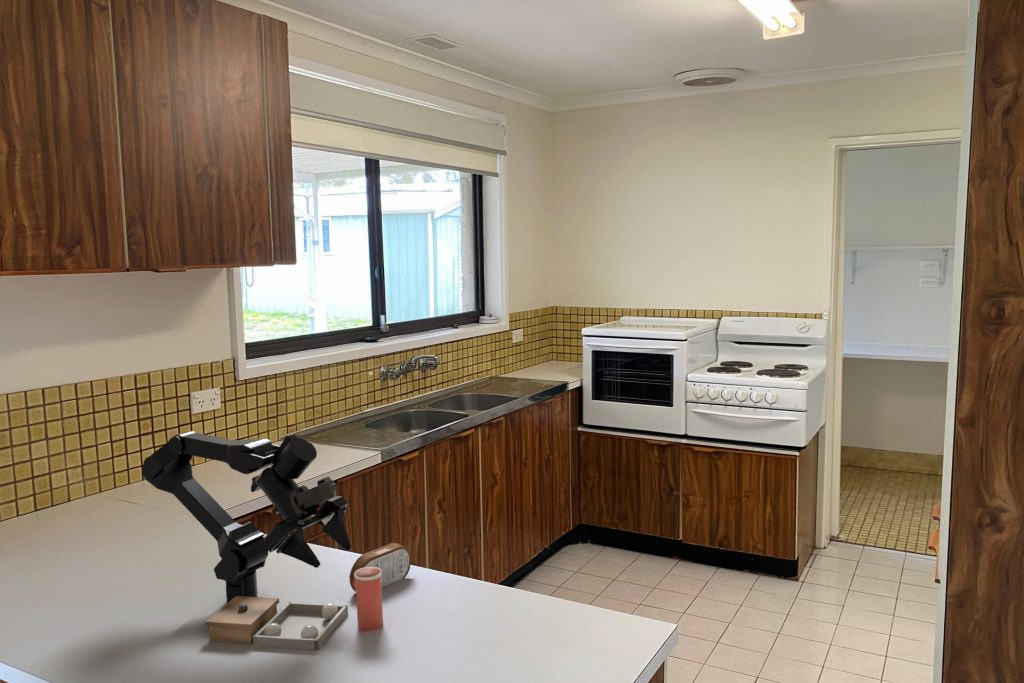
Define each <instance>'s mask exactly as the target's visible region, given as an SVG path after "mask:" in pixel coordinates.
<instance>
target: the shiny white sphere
mask: <svg viewBox="0 0 1024 683" xmlns="http://www.w3.org/2000/svg"><path fill="white" fill-rule="evenodd" d="M281 632H282V630H281V627H280V625H279V624H277V623H270V624H268V625H267V626H266V628H265V630H264V635H265V636H280V635H281Z"/></svg>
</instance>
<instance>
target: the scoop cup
mask: <svg viewBox="0 0 1024 683" xmlns="http://www.w3.org/2000/svg"><path fill="white" fill-rule="evenodd" d="M381 575H382V572H381V569H379V568H376V567H365V568H361V569H358V570H357V571H355V573H354V577H355V581H356V592H355V593H356V594H355V596H356V614H357V615H356V616H357V629H358V630H360V632H361V631H362V632H373V631H374V632H375V631H377V630H380V629H382V627H383V626H384V617H383V616H384V615H383V594H382V587H381Z"/></svg>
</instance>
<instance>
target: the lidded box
mask: <svg viewBox="0 0 1024 683" xmlns="http://www.w3.org/2000/svg"><path fill="white" fill-rule="evenodd" d="M279 603H280V598H279V597H264V596H263V597H262V596H257V597H246V596H236V597H235V598H233V599H232V600H231V601H230V602H228V603H227V602H226V604H225V605H223V606H222V607H221V608H220V609H219V610H218V611H216V612H215V613H214V614H212V616H210V617H209V618H207V619H206V620H205V621H204V624H205V627H208V633H209V641H218V642H234V643H247V644H248V643H249V644H252V643H253V636H254V635H255V634H256V633H257V632H258V631H259V630H260V629H261V628H262V627H263V626H264V625H265V624H266V623H267V622H269V621H270V620H271V619H272V618H273V617H274V616H275V615H276V614H277V613H278V608H277V607H278V604H279Z"/></svg>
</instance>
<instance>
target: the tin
mask: <svg viewBox="0 0 1024 683" xmlns="http://www.w3.org/2000/svg"><path fill="white" fill-rule="evenodd" d="M411 563H412V556H411V552H410V550H409V549H408V548H407V547H405V546H404V545H401V544H400V543H398V542H391V543H388V544H386V545H384V546H383V545H382V546H381V547H379V548H376V549H373V550H371V551H368V552H365V553H363V554H362V555H360V556H359V557H358V558H357V559H356V560H355V562H354V563H353V565H352V566H351V569H350V574H349V585H350V587H351V589H352V590H353V591H354V592H355V593H356V581H355V577H354V573H355V571H357V570H358V569H361V568H365V567H376V568H379V569H381V572H382V575H381V588H383V587H385V586H388V585H390V584H392V583H394V582H396V581H399V580H402V579H405V578H406V577H407V576H408V574H409V571H410V569H411V565H412V564H411Z"/></svg>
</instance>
